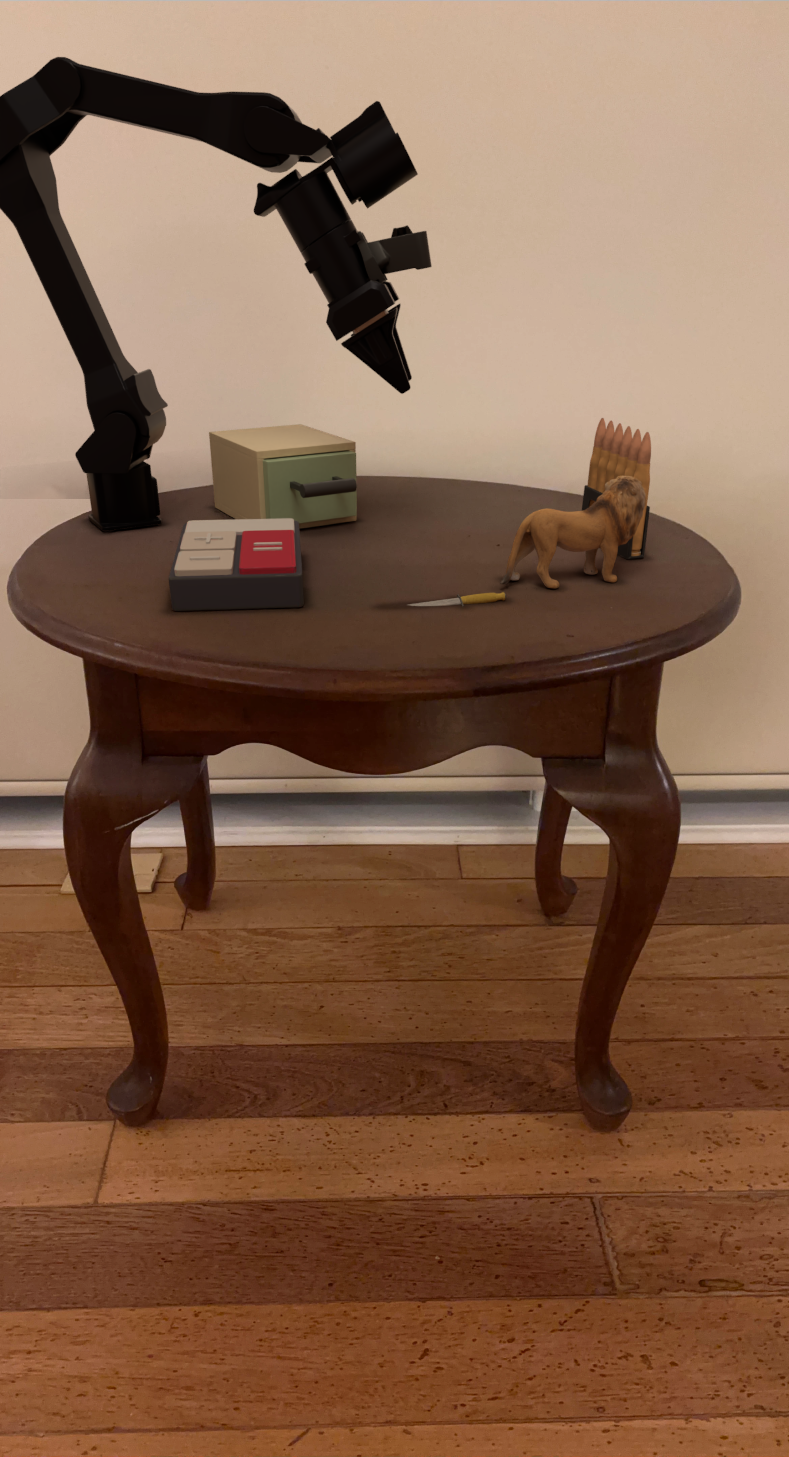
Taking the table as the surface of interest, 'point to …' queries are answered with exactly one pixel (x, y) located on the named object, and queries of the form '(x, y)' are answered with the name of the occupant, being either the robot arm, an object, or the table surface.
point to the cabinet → (243, 464)
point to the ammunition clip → (620, 474)
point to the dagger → (465, 600)
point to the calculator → (237, 565)
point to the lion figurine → (581, 531)
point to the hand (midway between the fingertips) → (407, 385)
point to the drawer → (311, 486)
